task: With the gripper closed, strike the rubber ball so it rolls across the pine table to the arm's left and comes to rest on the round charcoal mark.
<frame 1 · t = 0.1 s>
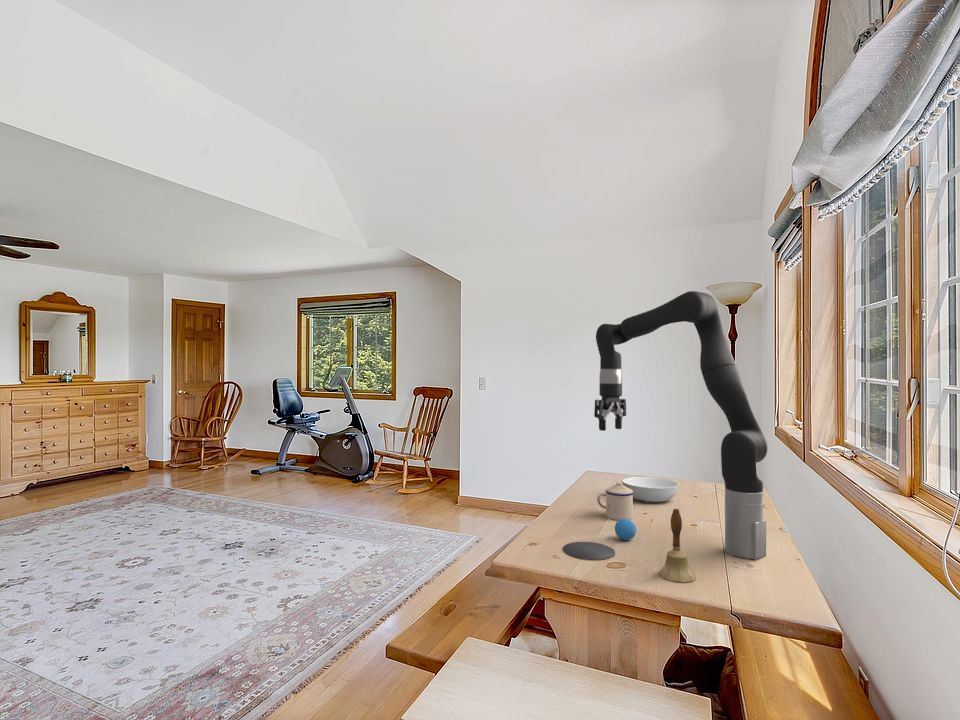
hand: (610, 429, 176), 29 cm above the table, tool pointing down, fingers open, 8 cm apart
charcoal disc: (588, 550, 141), on the table
serving bowl: (649, 500, 198), on the table
hand bell: (676, 576, 124), on the table
teacup with lid: (614, 517, 174), on the table
ball: (625, 529, 151), on the table
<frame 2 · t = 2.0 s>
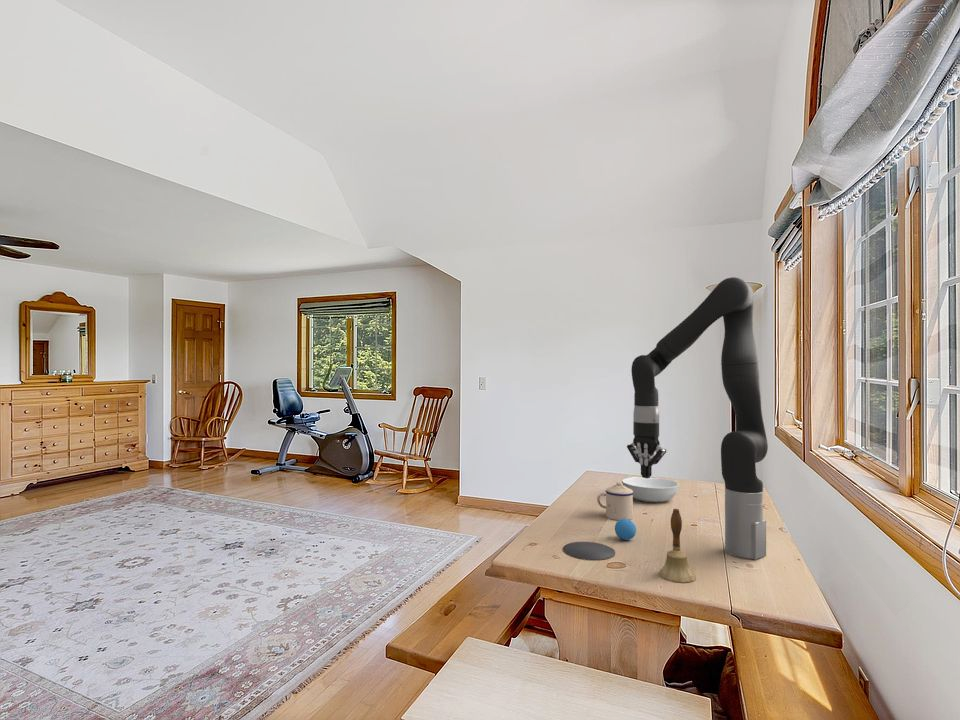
hand: (646, 477, 157), 17 cm above the table, tool pointing down, fingers closed
nothing on the table moved.
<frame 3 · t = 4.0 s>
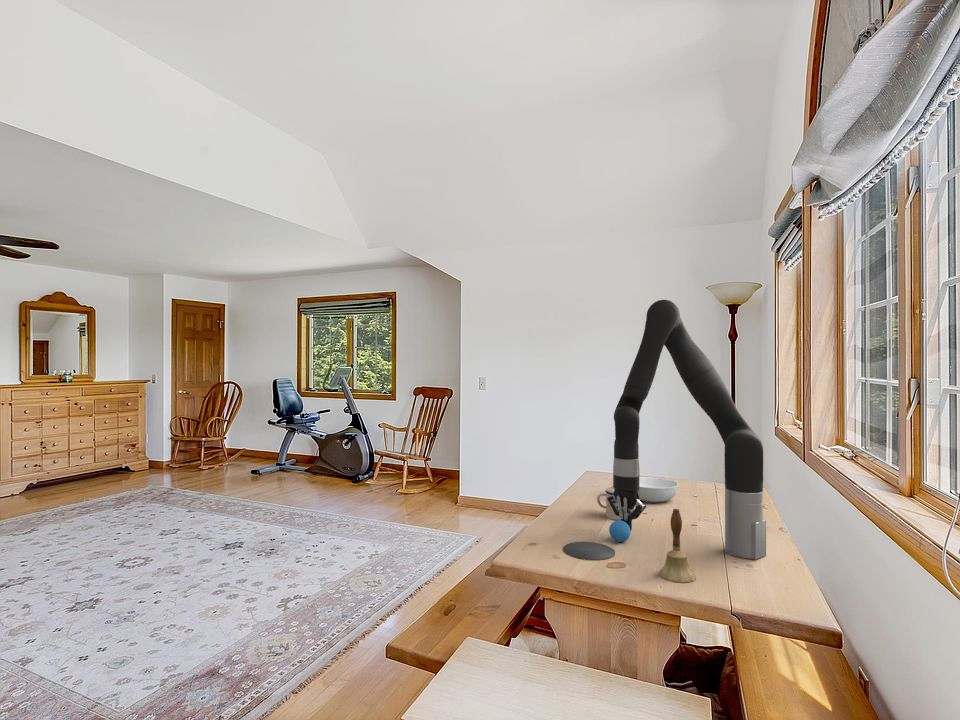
hand: (626, 532, 152), 2 cm above the table, tool pointing down, fingers closed
ball: (619, 531, 149), on the table, touching gripper
everything else where it was.
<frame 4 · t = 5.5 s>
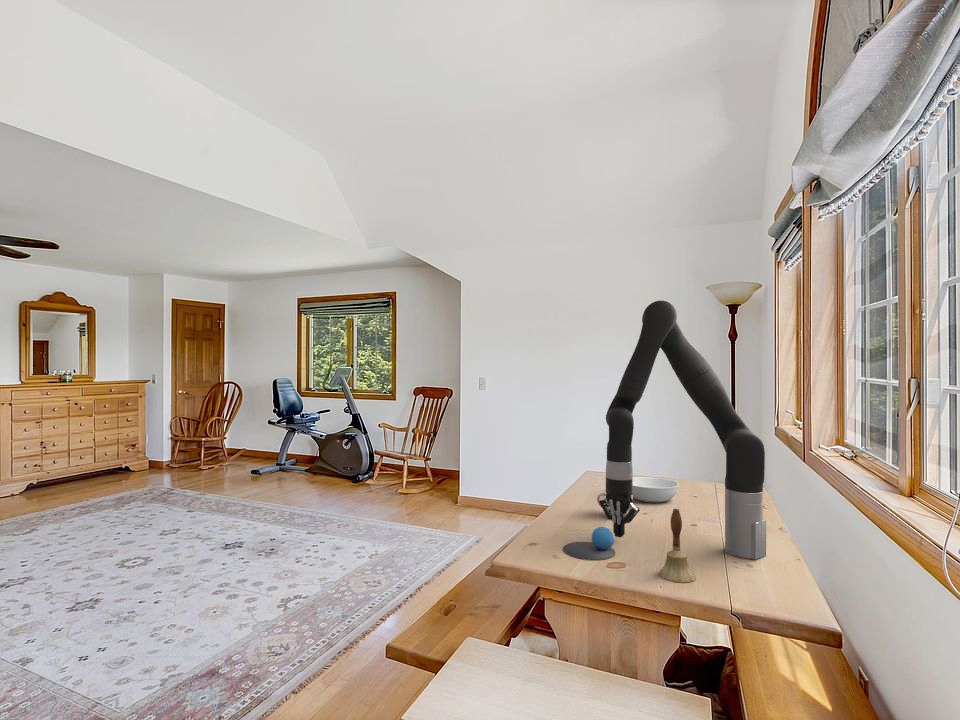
hand: (618, 536, 149), 2 cm above the table, tool pointing down, fingers closed
ball: (602, 538, 142), on the table
everything else where it was.
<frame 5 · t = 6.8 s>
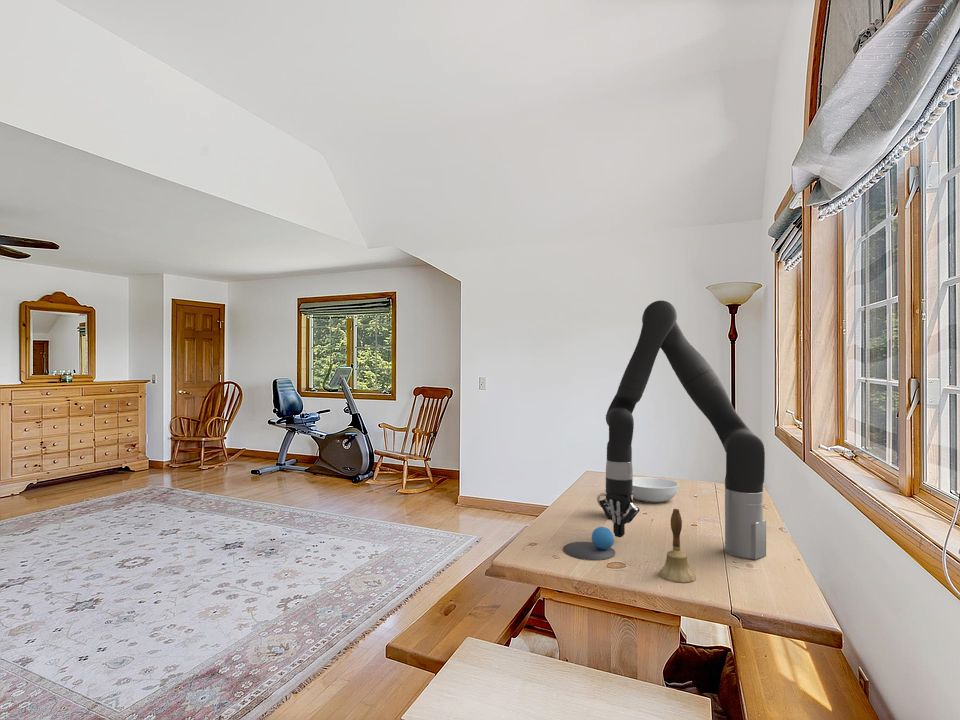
hand: (618, 536, 149), 2 cm above the table, tool pointing down, fingers closed
nothing on the table moved.
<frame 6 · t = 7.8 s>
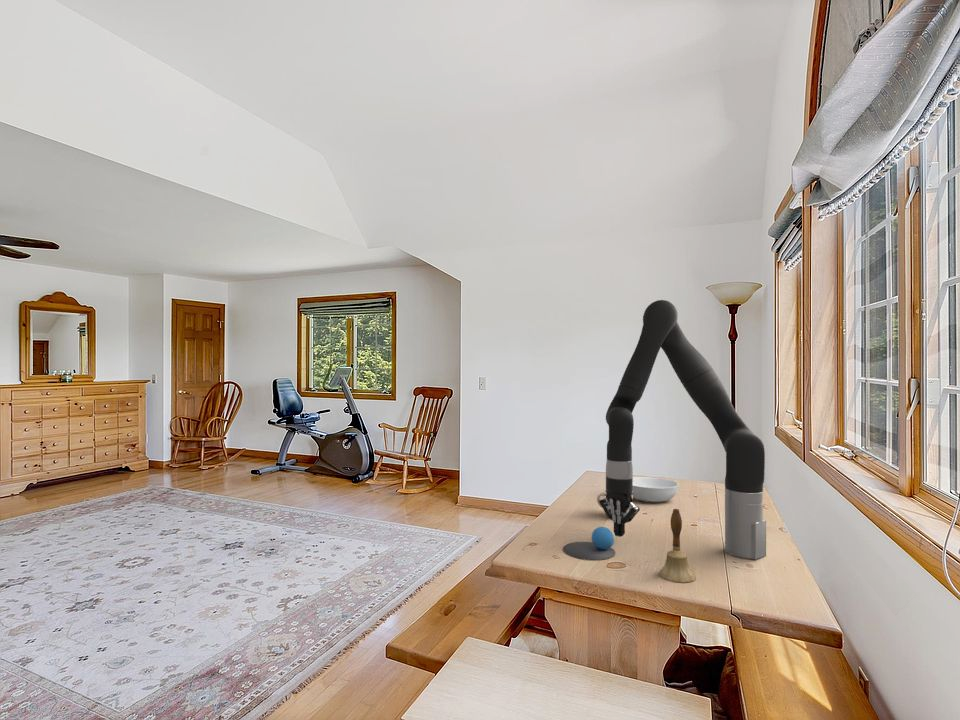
hand: (619, 535, 149), 2 cm above the table, tool pointing down, fingers closed
nothing on the table moved.
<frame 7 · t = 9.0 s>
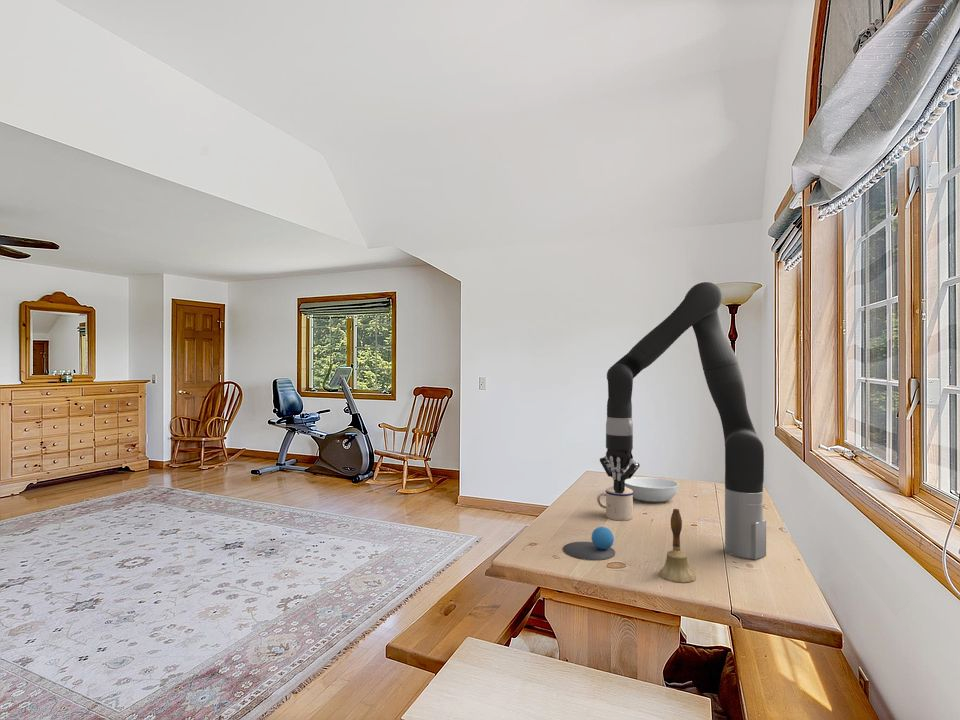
hand: (619, 492, 149), 14 cm above the table, tool pointing down, fingers closed
nothing on the table moved.
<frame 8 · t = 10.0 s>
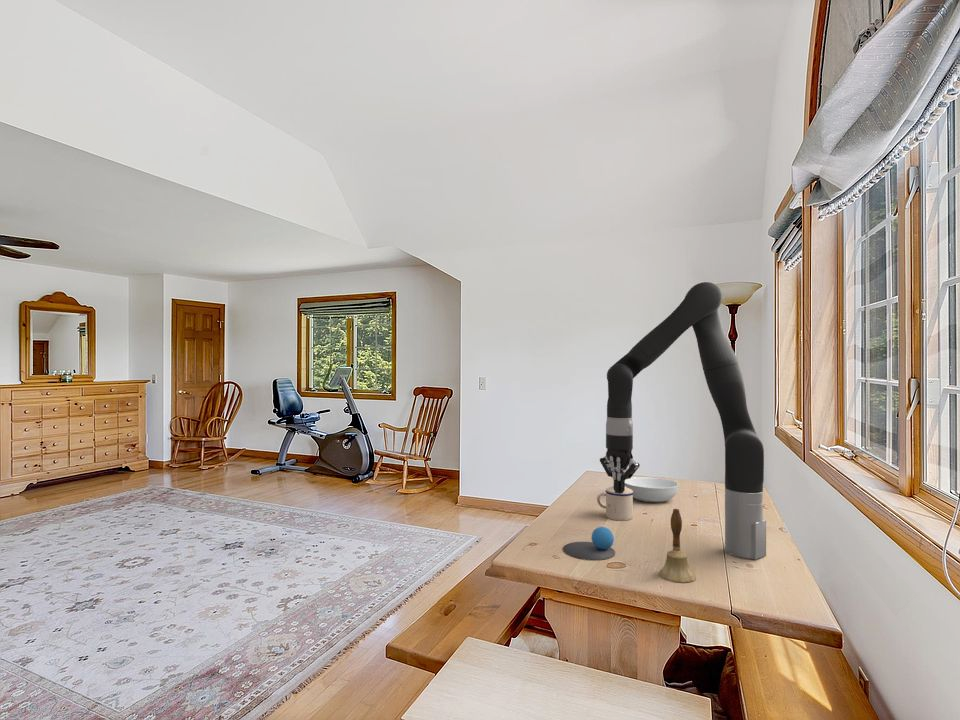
hand: (619, 492, 149), 14 cm above the table, tool pointing down, fingers closed
nothing on the table moved.
at the end: ball 4.4 cm from the charcoal disc (horizontally); ball at rest at the end (0.0 cm/s); ball moved 11.9 cm from its start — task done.
